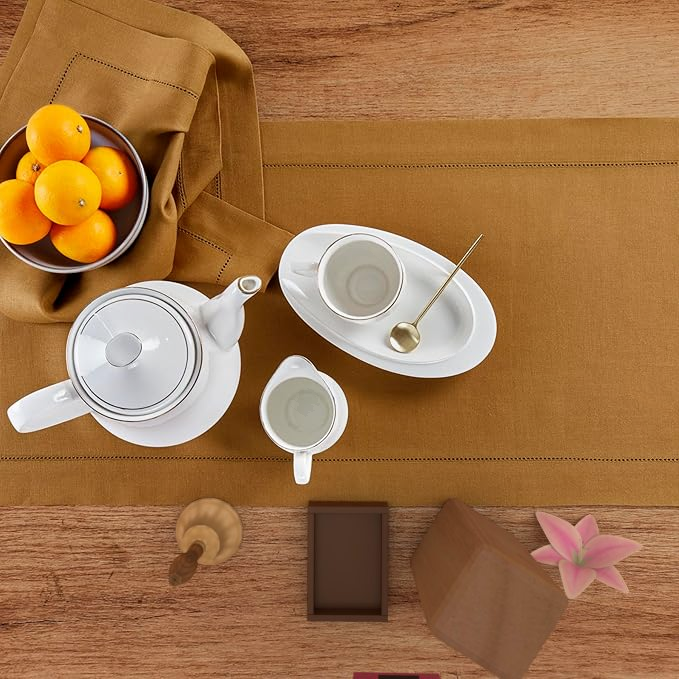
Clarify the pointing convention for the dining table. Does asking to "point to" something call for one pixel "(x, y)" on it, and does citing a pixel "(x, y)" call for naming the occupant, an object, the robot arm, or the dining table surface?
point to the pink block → (372, 677)
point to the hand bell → (204, 537)
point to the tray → (347, 561)
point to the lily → (583, 553)
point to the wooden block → (484, 591)
